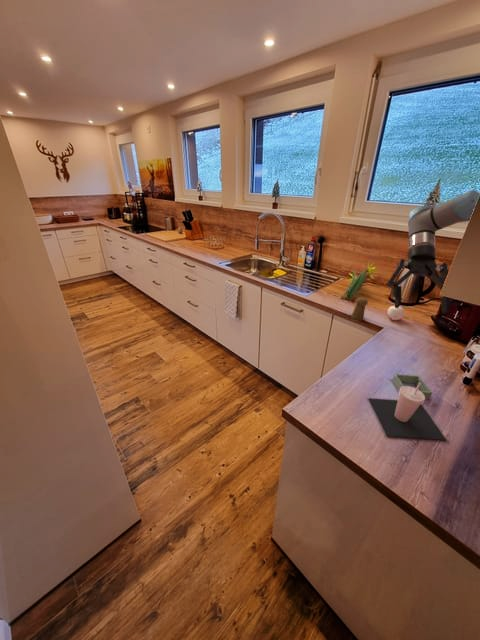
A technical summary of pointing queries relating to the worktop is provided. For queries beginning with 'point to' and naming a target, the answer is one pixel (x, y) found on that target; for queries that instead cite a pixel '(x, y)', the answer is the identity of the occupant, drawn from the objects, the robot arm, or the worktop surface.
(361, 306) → the brown tapered tower
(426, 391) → the holder
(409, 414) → the smoothie
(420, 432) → the mat
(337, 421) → the worktop surface
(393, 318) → the geometric ball
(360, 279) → the daffodil flowers
